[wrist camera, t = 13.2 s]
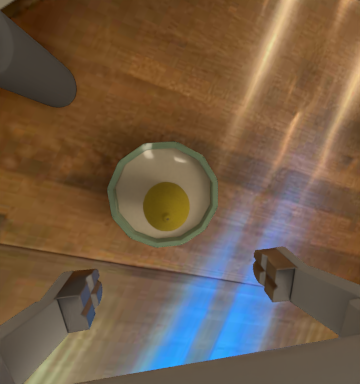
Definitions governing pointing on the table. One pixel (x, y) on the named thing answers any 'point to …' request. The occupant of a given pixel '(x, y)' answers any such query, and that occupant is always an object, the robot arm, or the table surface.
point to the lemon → (166, 206)
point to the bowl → (156, 173)
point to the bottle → (32, 68)
